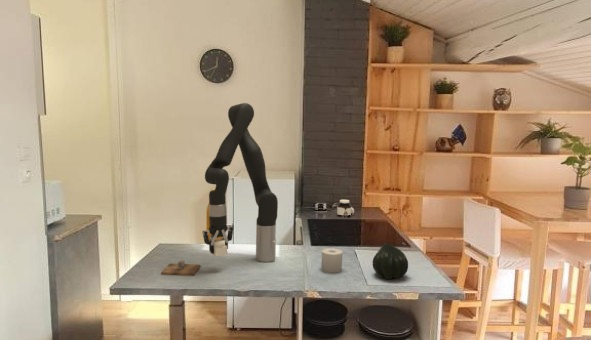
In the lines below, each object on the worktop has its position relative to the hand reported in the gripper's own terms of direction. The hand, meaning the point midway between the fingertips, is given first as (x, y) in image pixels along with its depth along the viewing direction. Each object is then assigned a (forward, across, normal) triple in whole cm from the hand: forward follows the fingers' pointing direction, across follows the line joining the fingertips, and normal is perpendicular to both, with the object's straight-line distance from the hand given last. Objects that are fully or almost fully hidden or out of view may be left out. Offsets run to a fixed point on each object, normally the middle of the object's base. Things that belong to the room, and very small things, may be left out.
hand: (218, 251), depth 180 cm
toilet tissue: (+10, -44, +24) cm, 51 cm away
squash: (+11, -60, +45) cm, 75 cm away
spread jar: (+12, -125, -54) cm, 136 cm away
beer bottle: (+9, -17, -41) cm, 45 cm away
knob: (+1, 0, 0) cm, 1 cm away
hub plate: (+8, +14, -9) cm, 18 cm away
